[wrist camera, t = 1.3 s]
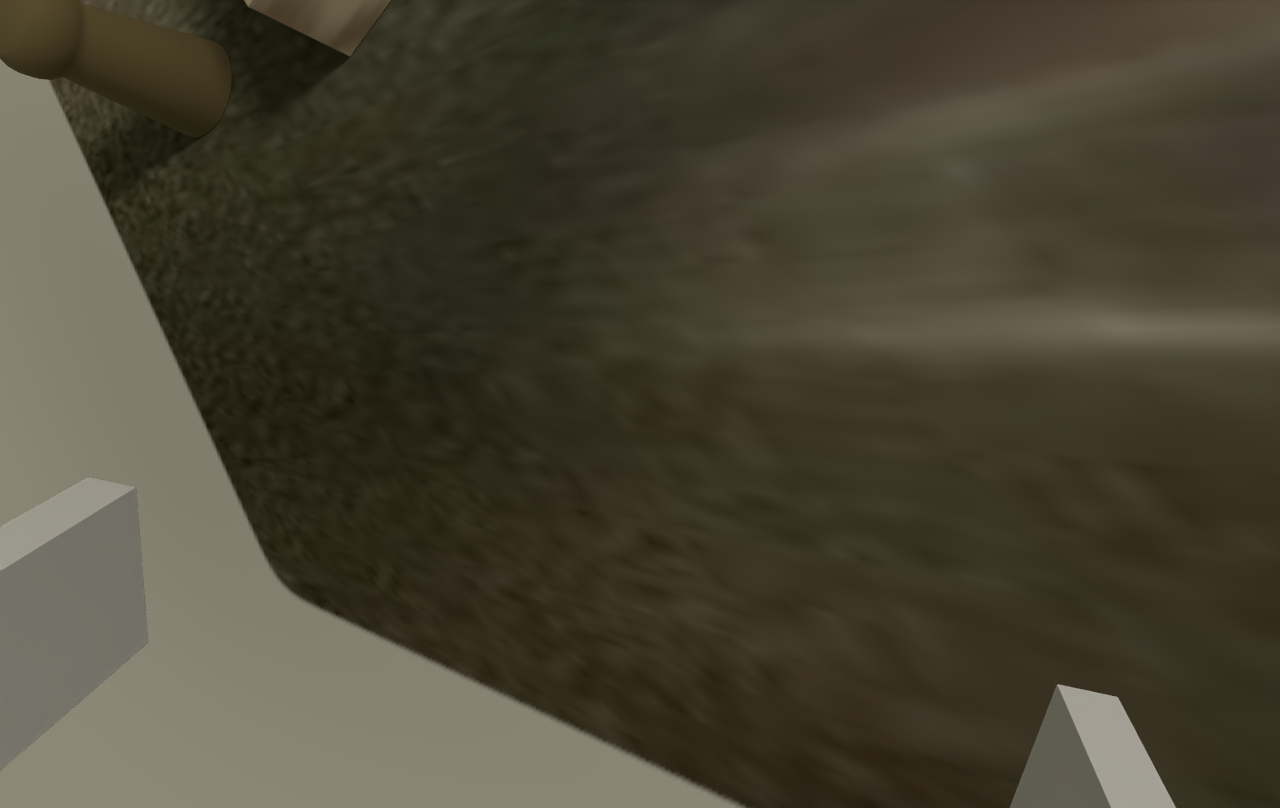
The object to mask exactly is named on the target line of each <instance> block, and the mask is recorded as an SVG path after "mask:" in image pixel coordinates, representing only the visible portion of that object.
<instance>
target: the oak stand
mask: <svg viewBox="0 0 1280 808" xmlns="http://www.w3.org/2000/svg"><path fill="white" fill-rule="evenodd" d="M244 1H245V2H246V4H247V6H248V7H250V8H252V9H254V10H256V11H258V12H260V13H262V14H264V15H266V16H268V17H270V18H272V19H274V20H276V21H278V22H280V23H282V24H284V25H286V26H289V27H291V28H293V29H295V30H297V31H299V32H301V33H303V34H305V35H307V36H309V37H311V38H313V39H315V40H317V41H319V42H321V43H323V44H325V45H327V46H329V47H331V48H334V49H336V50H338V51H340V52H342V53H344V54H346V55H348V56H351V55H352V54H353V52H354V51H355V49H356V48H357V47H358V45H359V44H360V42H361V41H362V40H363V38H364V37H365V36H366V34H367V33H368V31H369V30H370V29H371V27H372V26H373V25H374V23H375V22H376V20H377V19H378V18H379V16H380V15H381V13H382V12H383V11H384V9H385V8H386V7H387V5H388V4H389V2H390V1H391V0H244Z"/></svg>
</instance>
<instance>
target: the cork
mask: <svg viewBox="0 0 1280 808" xmlns="http://www.w3.org/2000/svg"><path fill="white" fill-rule="evenodd" d="M0 59H1V60H2V61H3V62H4V63H5V64H6V65H7V66H9V67H10V68H12V69H14V70H15V71H17V72H19V73H22V74H25V75H28V76H31V77H35V78H39V79H48V80H52V79H56V78H60V77H64V78H66V79H68V80H70V81H73V82H75V83H77V84H79V85H81V86H83V87H85V88H87V89H89V90H91V91H94V92H96V93H98V94H100V95H102V96H104V97H106V98H108V99H110V100H113V101H115V102H117V103H119V104H121V105H123V106H125V107H127V108H129V109H132V110H134V111H136V112H138V113H140V114H142V115H144V116H146V117H148V118H150V119H153V120H155V121H157V122H159V123H161V124H163V125H165V126H167V127H169V128H172V129H174V130H176V131H178V132H180V133H182V134H184V135H186V136H190V137H193V138H197V137H201V136H204V135H205V134H207V133H208V132H209V131H211V130H212V129H213V128H214V127H215V125H216V124H217V123H218V121H219V120H220V119H221V117H222V115H223V113H224V110H225V108H226V106H227V103H228V99H229V95H230V91H231V81H232V71H231V65H230V59H229V57H228V55H227V53H226V51H225V49H224V48H223V47H222V46H221V45H220V44H219V43H218V42H214V41H211V40H207V39H204V38H201V37H197V36H194V35H190V34H187V33H183V32H180V31H176V30H173V29H169V28H166V27H162V26H159V25H155V24H152V23H148V22H145V21H141V20H138V19H134V18H131V17H127V16H124V15H120V14H117V13H114V12H110V11H107V10H103V9H100V8H96V7H93V6H89V5H86V4H82V3H81V2H80V1H79V0H0Z"/></svg>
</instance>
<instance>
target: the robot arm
mask: <svg viewBox="0 0 1280 808" xmlns="http://www.w3.org/2000/svg"><path fill="white" fill-rule="evenodd" d="M141 556H142V555H141V542H140V530H139V518H138V504H137V491H136V487H133V486H128V485H124V484H119V483H114V482H110V481H105V480H101V479H95V478H91V477H87V478H86V479H84V480H83V481H80V482H78V483H77V484H75V485H73V486H71V487H70V488H68V489H66V490H64V491H62V492H61V493H59V494H57V495H55V496H53V497H52V498H50V499H48V500H46V501H45V502H43V503H41V504H39V505H37V506H36V507H34V508H32V509H30V510H28V511H27V512H25V513H23V514H21V515H20V516H18V517H16V518H14V519H12V520H11V521H9V522H7V523H5V524H4V525H2V526H0V771H1V770H2V769H3V768H4V767H6V766H7V765H8V764H9V763H10V762H11V761H12V760H14V759H15V758H16V757H17V756H18V755H19V754H21V753H22V752H23V751H24V750H25V749H26V748H27V747H29V746H30V745H31V744H32V743H33V742H34V741H36V740H37V739H38V738H39V737H40V736H41V735H42V734H43V733H45V732H46V731H47V730H48V729H49V728H50V727H52V726H53V725H54V724H55V723H56V722H57V721H59V720H60V719H61V718H62V717H63V716H64V715H65V714H66V713H68V712H69V711H70V710H71V709H72V708H74V707H75V706H76V705H77V704H78V703H79V702H80V701H81V700H83V699H84V698H85V697H86V696H87V695H88V694H90V693H91V692H92V691H93V690H94V689H95V688H96V687H98V686H99V685H100V684H101V683H102V682H103V681H104V680H106V679H107V678H108V677H109V676H110V675H111V674H113V673H114V672H115V671H116V670H117V669H118V668H120V667H121V666H122V665H123V664H124V663H125V662H126V661H128V660H129V659H130V658H131V657H132V656H133V655H134V654H135V653H137V652H138V651H139V650H140V649H141V648H142V647H144V646H145V645H146V644H147V643H148V633H147V620H146V607H145V594H144V581H143V568H142V557H141ZM1010 808H1176V807H1175V805H1174V804H1173V802H1172V800H1171V798H1170V796H1169V794H1168V792H1167V790H1166V788H1165V786H1164V785H1163V783H1162V781H1161V779H1160V777H1159V775H1158V773H1157V771H1156V769H1155V767H1154V765H1153V764H1152V762H1151V760H1150V758H1149V756H1148V754H1147V752H1146V750H1145V748H1144V746H1143V745H1142V743H1141V741H1140V739H1139V737H1138V735H1137V733H1136V731H1135V729H1134V727H1133V725H1132V724H1131V722H1130V720H1129V718H1128V716H1127V714H1126V712H1125V710H1124V708H1123V706H1122V704H1121V703H1120V701H1119V699H1118V697H1114V696H1110V695H1105V694H1100V693H1096V692H1091V691H1086V690H1082V689H1077V688H1072V687H1068V686H1063V685H1058V684H1057V686H1056V689H1055V691H1054V694H1053V697H1052V699H1051V702H1050V704H1049V707H1048V710H1047V712H1046V715H1045V717H1044V720H1043V723H1042V725H1041V728H1040V730H1039V733H1038V736H1037V738H1036V741H1035V743H1034V746H1033V749H1032V751H1031V754H1030V756H1029V759H1028V762H1027V764H1026V767H1025V769H1024V772H1023V775H1022V777H1021V780H1020V783H1019V785H1018V788H1017V790H1016V793H1015V796H1014V798H1013V801H1012V803H1011V806H1010Z"/></svg>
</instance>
